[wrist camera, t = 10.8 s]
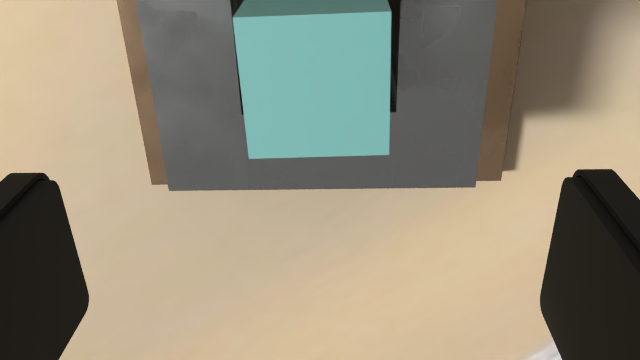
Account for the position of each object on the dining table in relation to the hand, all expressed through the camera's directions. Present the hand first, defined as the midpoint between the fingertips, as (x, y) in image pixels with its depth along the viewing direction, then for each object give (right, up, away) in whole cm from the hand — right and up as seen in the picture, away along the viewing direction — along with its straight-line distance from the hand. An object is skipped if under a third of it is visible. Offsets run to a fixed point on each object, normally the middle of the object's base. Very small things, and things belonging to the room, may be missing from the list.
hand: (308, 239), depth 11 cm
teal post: (0, +10, +17) cm, 20 cm away
